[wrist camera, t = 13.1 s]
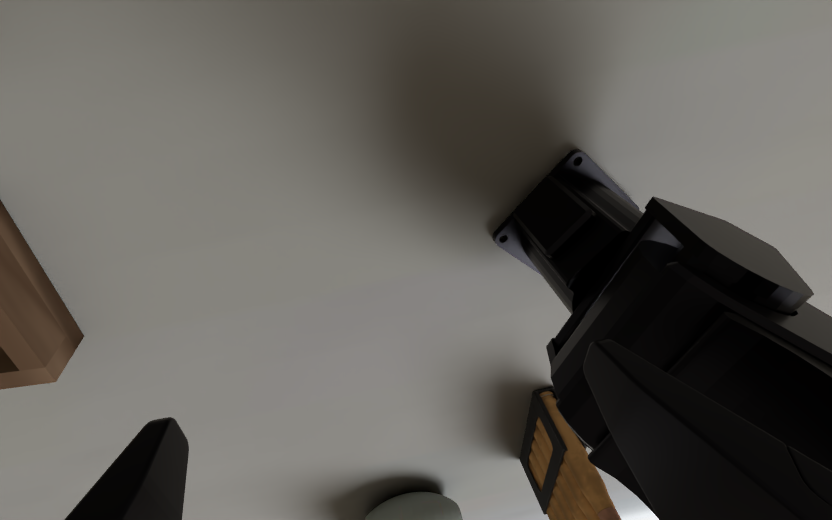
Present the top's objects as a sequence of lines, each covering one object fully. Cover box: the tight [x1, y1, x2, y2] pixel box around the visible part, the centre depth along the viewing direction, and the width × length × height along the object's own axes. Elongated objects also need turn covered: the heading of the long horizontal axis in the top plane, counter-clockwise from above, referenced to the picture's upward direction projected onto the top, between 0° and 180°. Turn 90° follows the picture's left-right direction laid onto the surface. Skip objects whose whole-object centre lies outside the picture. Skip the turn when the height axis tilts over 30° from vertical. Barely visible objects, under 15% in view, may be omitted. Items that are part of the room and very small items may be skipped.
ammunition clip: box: [520, 387, 621, 520], centre depth 32 cm, size 11×2×12 cm, turn 2°
